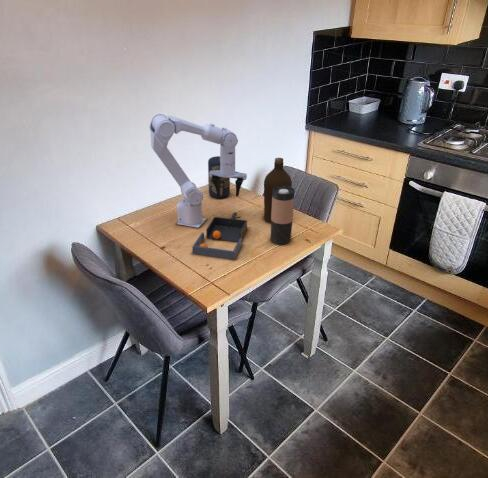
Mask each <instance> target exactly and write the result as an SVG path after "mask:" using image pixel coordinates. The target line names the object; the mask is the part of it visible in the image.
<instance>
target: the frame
mask: <svg viewBox="0 0 488 478" xmlns="http://www.w3.org/2000/svg"><path fill="white" fill-rule="evenodd" d="M204 241H205V232H201V233H200V235H199V236H198V238H197V239H196V240H195V242H194V243H193V245H192V254H193V255H199V256H205V257H211V258H218V259H227V260H233V261H235V260H236V258H237V256H238V254H239V253H240V250H241V248H242V246H243V239H242V238H240V239H239V241H238V242H236V245H235V246H234V248H233V250H229V249H223V248H222V249H221V248H214V247H208V246H207V247H201V246H200V245H201V244H203V243H204Z"/></svg>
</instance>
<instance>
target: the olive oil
mask: <svg viewBox="0 0 488 478" xmlns="http://www.w3.org/2000/svg"><path fill="white" fill-rule="evenodd" d="M283 186H289V187H292V186H293V181H292V178H291V175H290V174H289V173H288V172H287V170H285V169H284V158H283V157H275V158H274V165H273V168H272V169H271V170H270V171H269V172H268V173H267V174H266V176H265V178H264V180H263V219H264V221H265V222H267V223H269V224H271V211H272V195H273V188H274V187H283ZM292 188H293V187H292Z"/></svg>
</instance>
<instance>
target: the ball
mask: <svg viewBox="0 0 488 478" xmlns="http://www.w3.org/2000/svg"><path fill="white" fill-rule="evenodd" d="M213 237H214V238H216V239H218V238H220V237H221V233H220V231H214V233H213Z"/></svg>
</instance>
